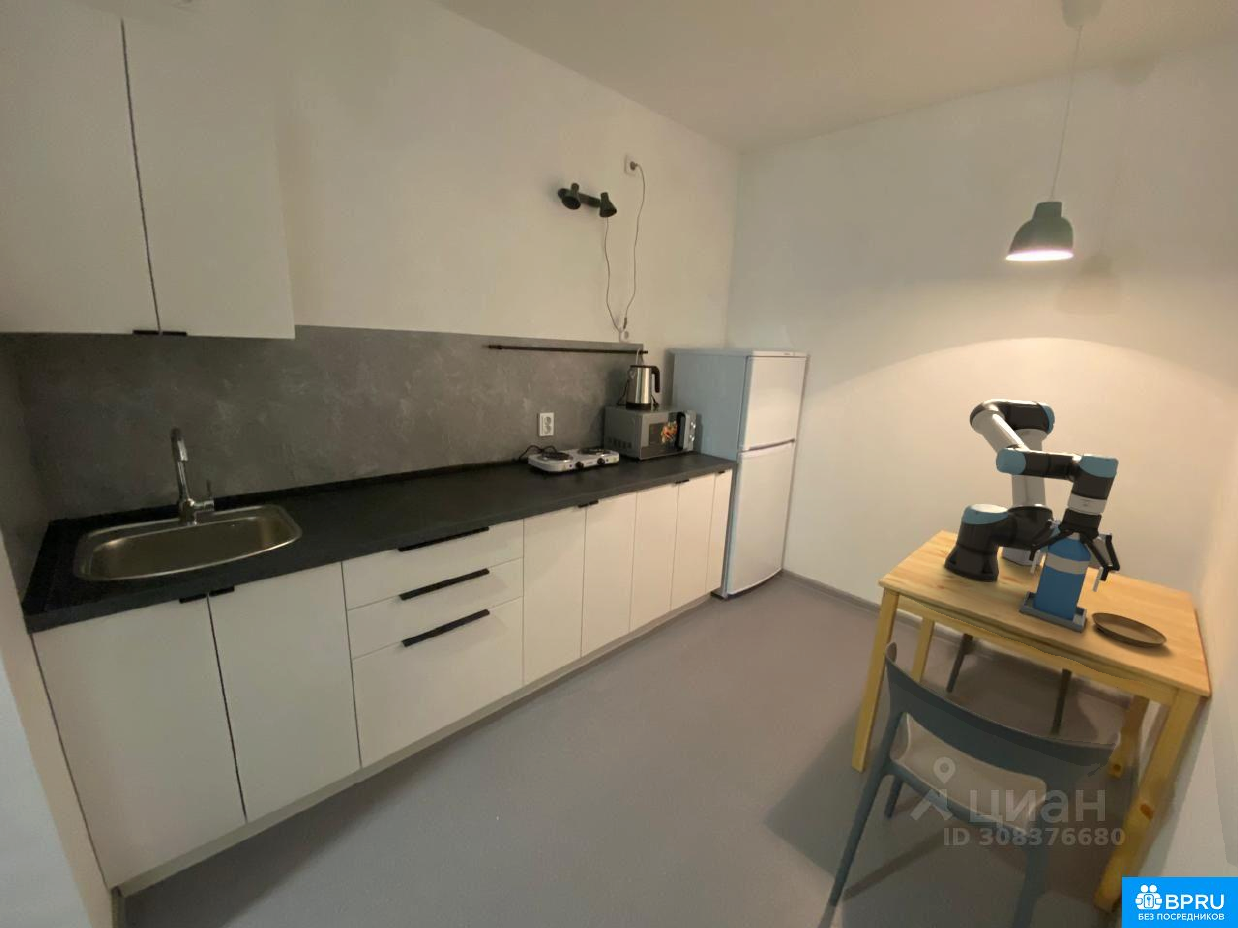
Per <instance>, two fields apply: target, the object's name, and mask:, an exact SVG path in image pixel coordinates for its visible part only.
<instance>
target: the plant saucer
mask: <svg viewBox="0 0 1238 928" xmlns="http://www.w3.org/2000/svg"><path fill="white" fill-rule="evenodd" d="M1090 616H1091V619H1092V621H1093V623H1094V624H1095V625H1096V626H1097V628H1098V629H1099V630H1100V631H1101V632H1103V633H1105V634H1106V635H1107V636H1109V637H1111V638H1113V639H1115V640H1119V641H1120V642H1124V643H1127V644H1130V645H1134V646H1138V647H1156V646H1160V645H1163V644H1165V643H1166V642H1167V641H1168V639H1167V636H1165V635H1164V634H1163V633H1162V632H1160V631H1159V630H1157V629H1156V628H1154V627H1152V626H1150V625H1147V624H1145V623H1144V622H1142V621H1141V622H1140V621H1139V620H1136V619H1132V618H1129V617H1126V616H1124V615H1121V614H1120V615H1119V614H1115V613H1109V612H1101V611H1100V612H1097V611H1096V612H1094V613H1092V614H1090Z"/></svg>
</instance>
